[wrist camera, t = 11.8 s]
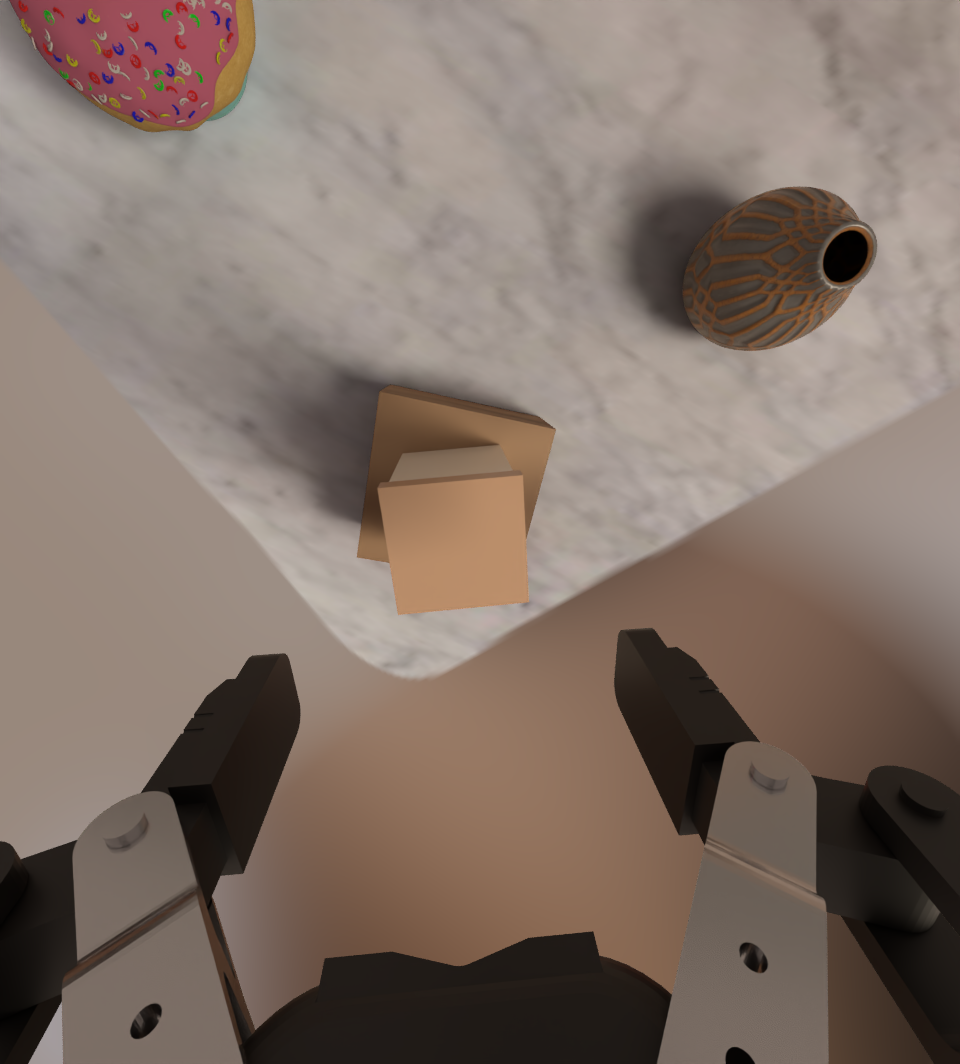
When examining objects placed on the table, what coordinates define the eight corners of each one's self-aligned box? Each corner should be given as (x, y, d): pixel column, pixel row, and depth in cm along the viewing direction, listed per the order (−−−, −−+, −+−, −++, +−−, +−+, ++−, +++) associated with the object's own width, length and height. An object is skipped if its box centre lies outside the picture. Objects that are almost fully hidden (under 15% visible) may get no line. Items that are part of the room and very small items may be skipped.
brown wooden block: (390, 384, 27) (379, 391, 23) (538, 416, 29) (555, 429, 24) (370, 525, 30) (356, 557, 26) (504, 549, 32) (514, 583, 27)
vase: (690, 373, 28) (789, 383, 20) (644, 259, 26) (736, 218, 17) (799, 308, 27) (951, 290, 19) (763, 183, 25) (917, 103, 17)
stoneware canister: (397, 449, 24) (377, 488, 17) (503, 440, 24) (523, 475, 17) (412, 546, 26) (398, 614, 19) (509, 537, 26) (528, 602, 19)
